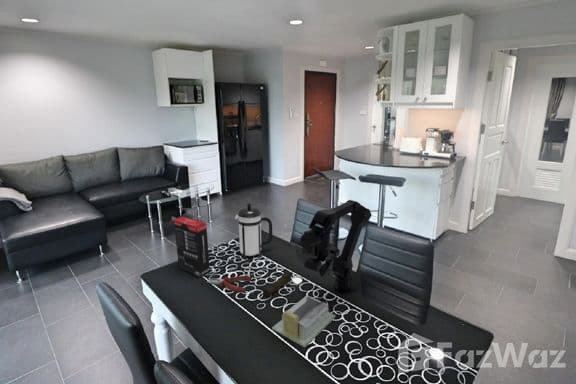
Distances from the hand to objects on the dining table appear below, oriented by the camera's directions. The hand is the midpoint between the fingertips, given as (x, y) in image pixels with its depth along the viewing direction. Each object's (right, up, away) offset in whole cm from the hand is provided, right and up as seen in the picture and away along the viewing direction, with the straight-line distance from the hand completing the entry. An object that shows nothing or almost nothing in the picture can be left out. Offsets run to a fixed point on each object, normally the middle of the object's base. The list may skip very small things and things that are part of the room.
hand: (322, 276), depth 132 cm
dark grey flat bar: (-8, -10, -12) cm, 17 cm away
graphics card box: (-62, -5, +28) cm, 68 cm away
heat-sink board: (-8, -15, -10) cm, 20 cm away
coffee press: (-34, 0, +47) cm, 58 cm away
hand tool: (-19, -9, +14) cm, 25 cm away
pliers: (-41, -8, +18) cm, 46 cm away
